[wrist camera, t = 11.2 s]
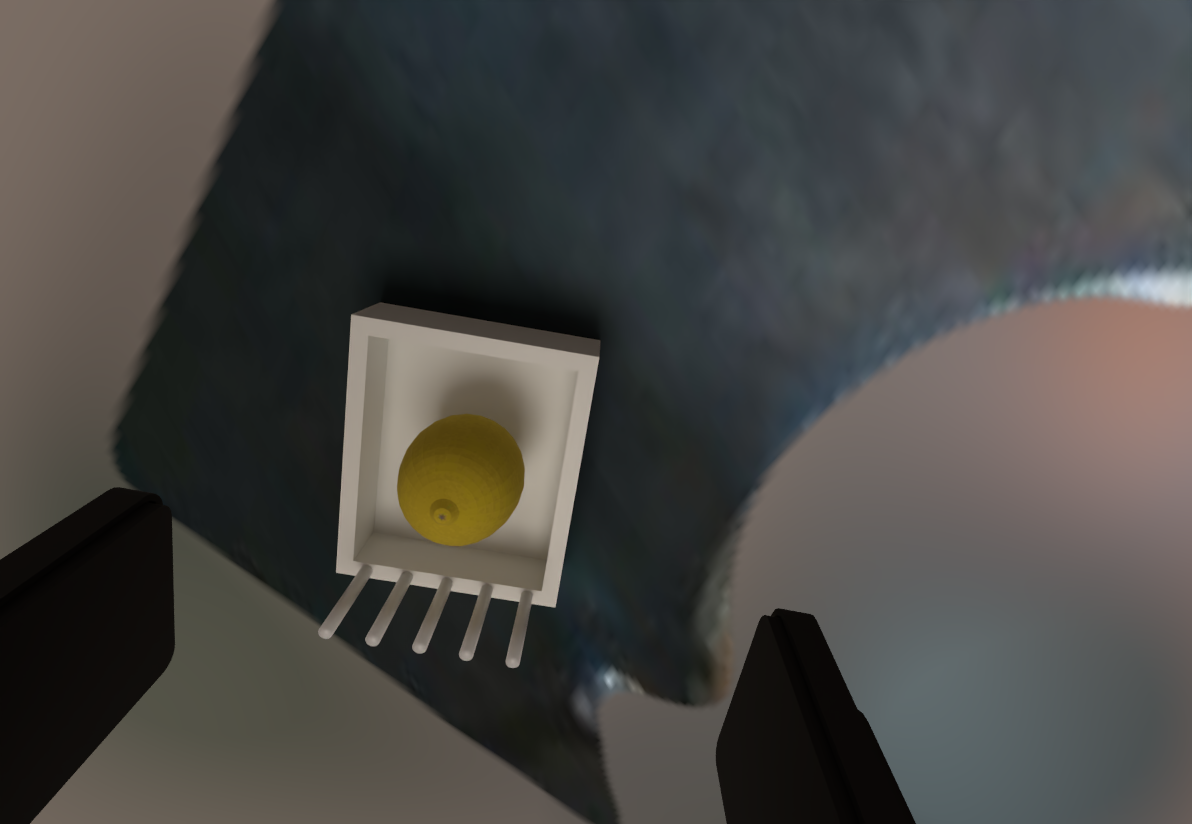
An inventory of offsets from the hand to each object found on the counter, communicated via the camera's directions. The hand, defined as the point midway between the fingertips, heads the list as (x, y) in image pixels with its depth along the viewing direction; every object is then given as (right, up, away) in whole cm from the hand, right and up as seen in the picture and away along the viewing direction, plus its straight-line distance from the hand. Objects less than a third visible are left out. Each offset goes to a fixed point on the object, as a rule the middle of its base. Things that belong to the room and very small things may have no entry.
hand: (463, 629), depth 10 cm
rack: (-4, +2, +24) cm, 25 cm away
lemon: (-4, +2, +24) cm, 24 cm away
